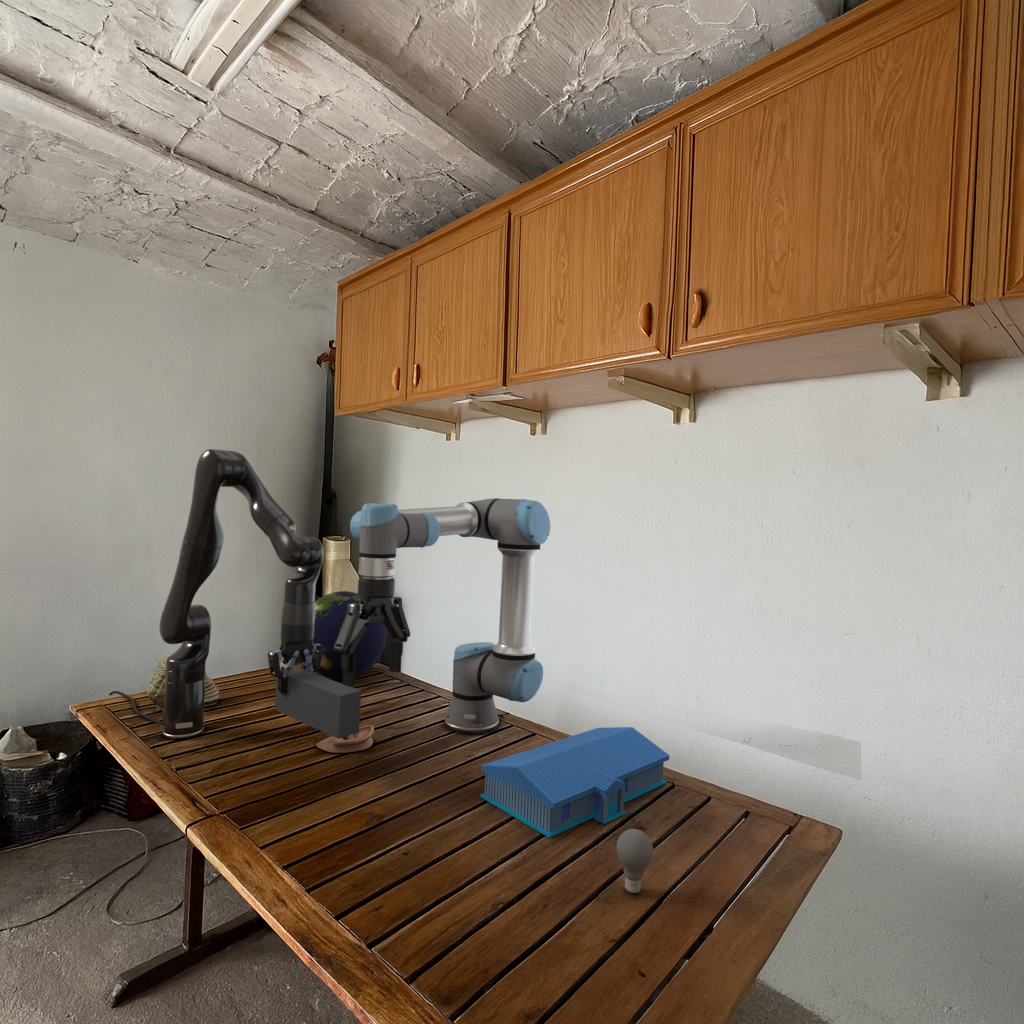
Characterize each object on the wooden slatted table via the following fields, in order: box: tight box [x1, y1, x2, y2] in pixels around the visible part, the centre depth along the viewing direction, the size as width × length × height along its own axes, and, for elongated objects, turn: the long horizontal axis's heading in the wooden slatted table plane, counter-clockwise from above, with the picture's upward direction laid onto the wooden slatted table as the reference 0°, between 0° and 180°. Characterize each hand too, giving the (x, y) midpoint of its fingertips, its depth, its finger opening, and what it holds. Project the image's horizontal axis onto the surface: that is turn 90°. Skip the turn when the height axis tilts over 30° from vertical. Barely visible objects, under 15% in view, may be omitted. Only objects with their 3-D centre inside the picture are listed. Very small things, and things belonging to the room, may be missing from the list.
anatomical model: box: [316, 724, 375, 754], centre depth 162 cm, size 13×4×12 cm
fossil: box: [147, 654, 221, 712], centre depth 185 cm, size 9×18×15 cm, turn 132°
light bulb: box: [615, 828, 654, 894], centre depth 106 cm, size 6×6×10 cm
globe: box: [310, 590, 388, 680], centre depth 220 cm, size 30×30×30 cm
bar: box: [274, 666, 362, 739], centre depth 146 cm, size 25×6×9 cm, turn 52°
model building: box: [479, 726, 670, 839], centre depth 141 cm, size 39×24×10 cm, turn 132°
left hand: (294, 690), depth 151 cm, fingers closed on bar, 5 cm apart
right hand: (372, 678), depth 133 cm, fingers open, 13 cm apart
